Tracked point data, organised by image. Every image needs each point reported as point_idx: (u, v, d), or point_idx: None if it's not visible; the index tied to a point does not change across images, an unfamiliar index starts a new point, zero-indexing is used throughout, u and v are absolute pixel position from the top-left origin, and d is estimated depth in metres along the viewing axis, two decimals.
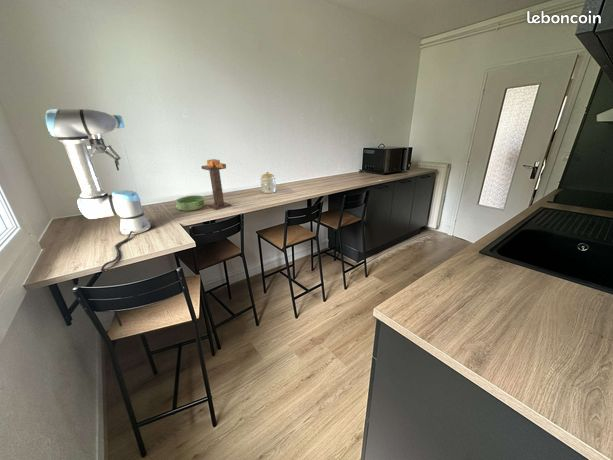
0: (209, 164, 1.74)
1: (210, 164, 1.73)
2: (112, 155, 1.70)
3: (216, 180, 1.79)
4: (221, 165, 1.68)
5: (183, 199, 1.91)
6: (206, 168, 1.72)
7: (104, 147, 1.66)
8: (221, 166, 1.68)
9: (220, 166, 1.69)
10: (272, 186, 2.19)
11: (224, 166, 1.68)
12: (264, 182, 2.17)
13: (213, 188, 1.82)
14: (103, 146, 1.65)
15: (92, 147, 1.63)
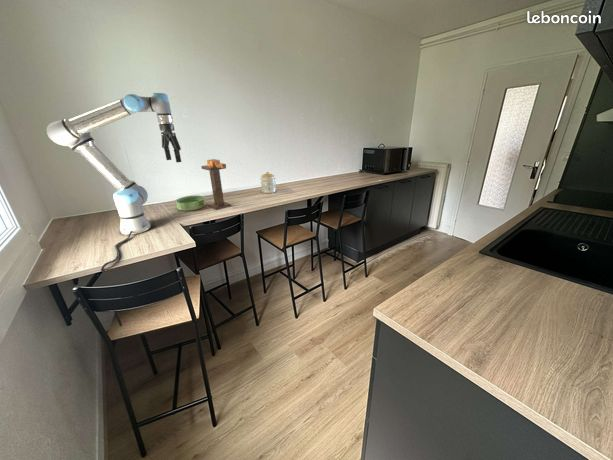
0: (209, 164, 1.74)
1: (210, 164, 1.73)
2: None
3: (216, 180, 1.79)
4: (221, 165, 1.68)
5: (183, 199, 1.91)
6: (206, 168, 1.72)
7: (168, 134, 1.44)
8: (221, 166, 1.68)
9: (220, 166, 1.69)
10: (272, 186, 2.19)
11: (224, 166, 1.68)
12: (264, 182, 2.17)
13: (213, 188, 1.82)
14: (168, 133, 1.44)
15: (164, 133, 1.48)
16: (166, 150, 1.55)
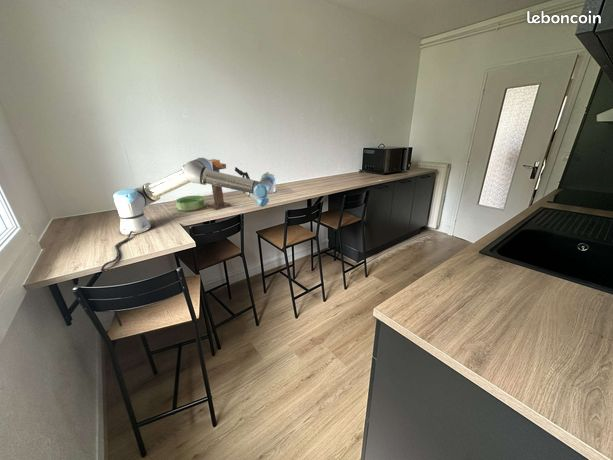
0: None
1: None
2: None
3: None
4: (221, 165, 1.68)
5: (183, 199, 1.91)
6: None
7: None
8: (221, 166, 1.68)
9: (220, 166, 1.69)
10: (272, 186, 2.19)
11: (224, 166, 1.68)
12: None
13: (213, 188, 1.82)
14: None
15: None
16: (240, 172, 1.67)
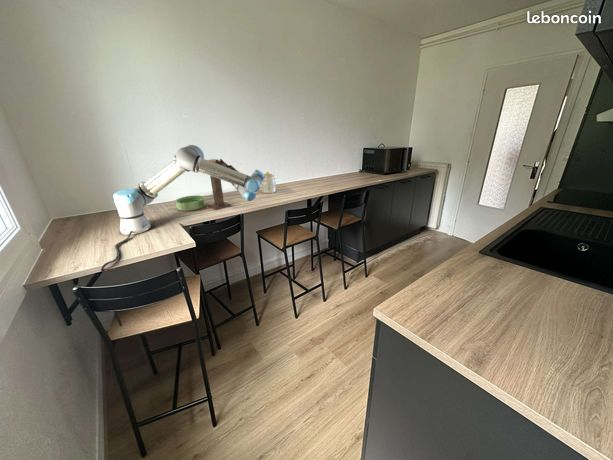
0: None
1: None
2: None
3: (216, 180, 1.79)
4: None
5: (183, 199, 1.91)
6: None
7: None
8: None
9: None
10: (272, 186, 2.19)
11: (224, 166, 1.68)
12: (264, 182, 2.17)
13: (213, 188, 1.82)
14: None
15: None
16: None
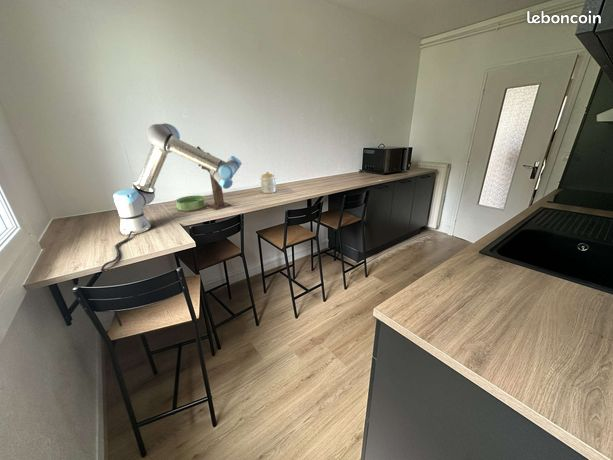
0: None
1: None
2: None
3: None
4: None
5: (183, 199, 1.91)
6: None
7: None
8: None
9: None
10: (272, 186, 2.19)
11: None
12: (264, 182, 2.17)
13: (213, 188, 1.82)
14: None
15: None
16: None
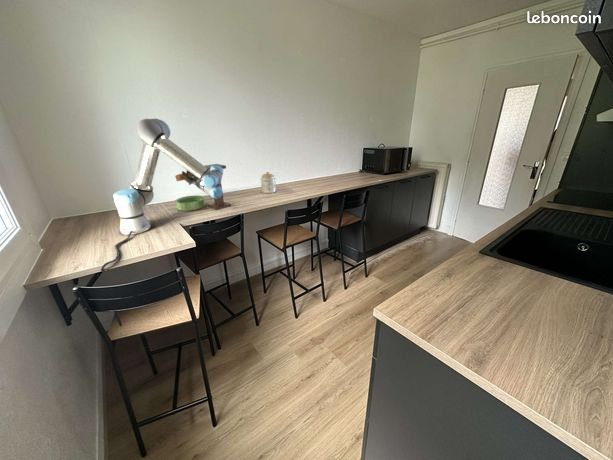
0: (177, 178, 1.78)
1: (178, 178, 1.77)
2: (189, 177, 1.68)
3: None
4: None
5: (183, 199, 1.91)
6: None
7: (194, 181, 1.64)
8: None
9: None
10: (272, 186, 2.19)
11: (190, 175, 1.71)
12: (264, 182, 2.17)
13: None
14: (195, 181, 1.64)
15: None
16: None
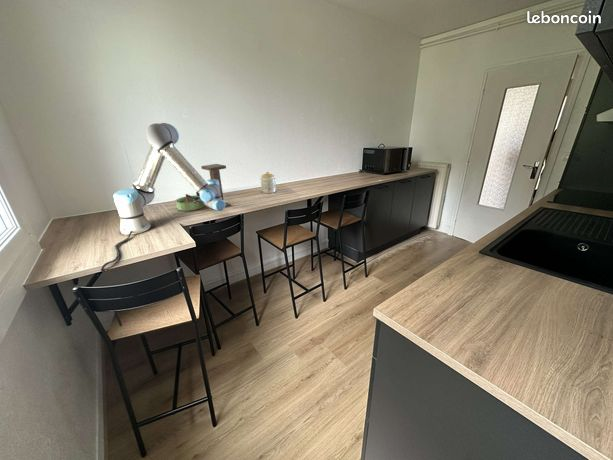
0: None
1: None
2: None
3: None
4: None
5: (183, 199, 1.91)
6: (206, 168, 1.72)
7: (198, 198, 1.68)
8: None
9: None
10: (272, 186, 2.19)
11: None
12: (264, 182, 2.17)
13: None
14: (199, 198, 1.68)
15: None
16: (200, 194, 1.80)
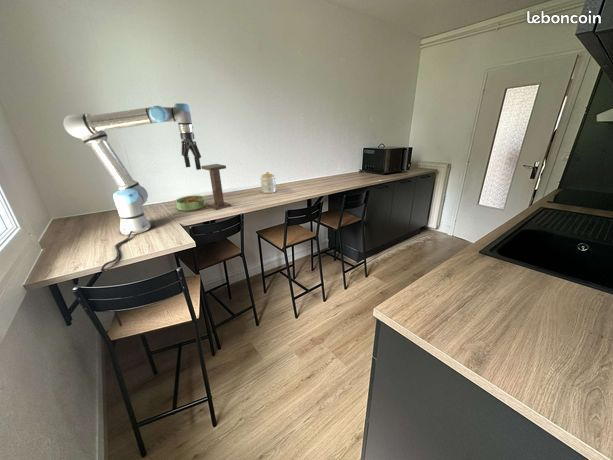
0: None
1: None
2: None
3: (216, 180, 1.79)
4: (194, 198, 1.77)
5: (183, 199, 1.91)
6: (206, 168, 1.72)
7: (189, 143, 1.49)
8: (195, 199, 1.78)
9: (194, 200, 1.78)
10: (272, 186, 2.19)
11: (197, 199, 1.77)
12: (264, 182, 2.17)
13: (213, 188, 1.82)
14: (189, 141, 1.49)
15: (184, 142, 1.53)
16: (186, 158, 1.59)
